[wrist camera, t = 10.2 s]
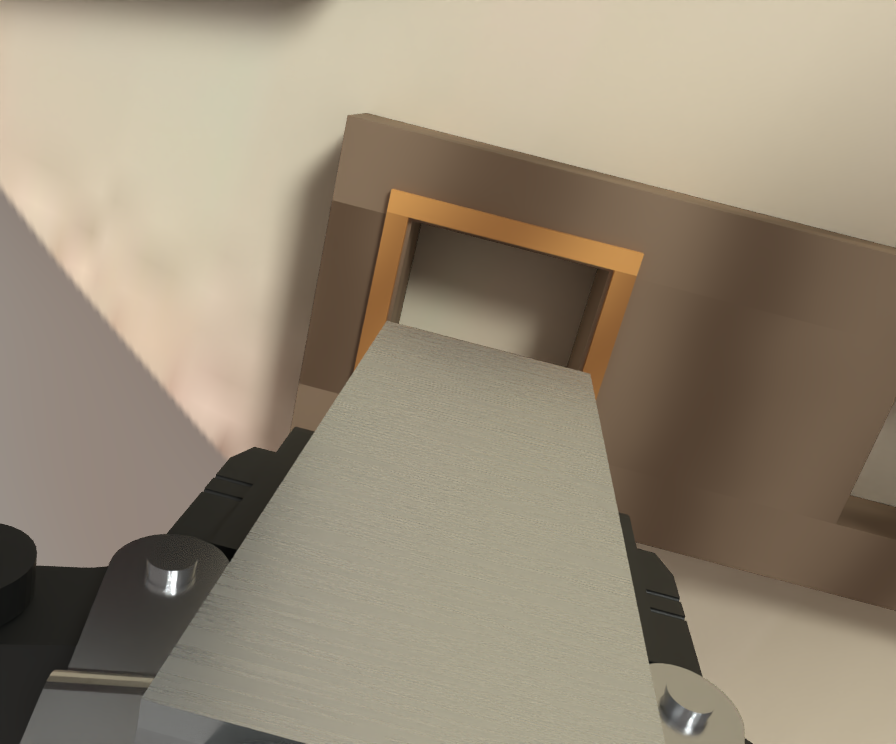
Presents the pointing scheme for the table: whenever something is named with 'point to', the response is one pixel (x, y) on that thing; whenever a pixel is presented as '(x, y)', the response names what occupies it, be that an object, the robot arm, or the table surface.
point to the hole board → (655, 343)
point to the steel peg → (427, 572)
